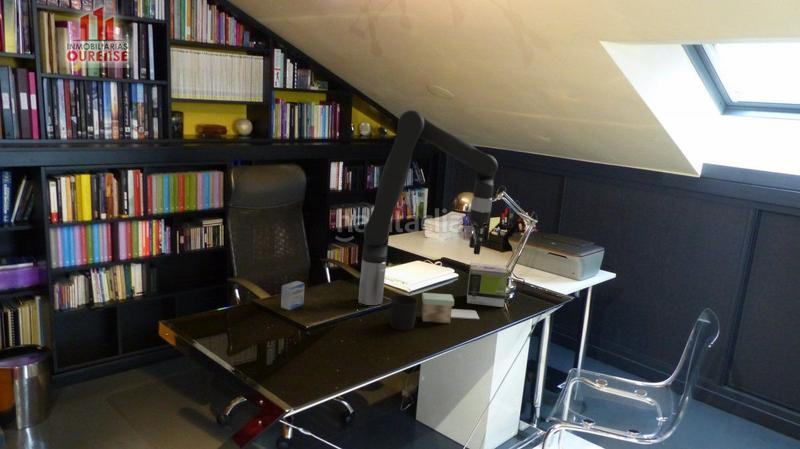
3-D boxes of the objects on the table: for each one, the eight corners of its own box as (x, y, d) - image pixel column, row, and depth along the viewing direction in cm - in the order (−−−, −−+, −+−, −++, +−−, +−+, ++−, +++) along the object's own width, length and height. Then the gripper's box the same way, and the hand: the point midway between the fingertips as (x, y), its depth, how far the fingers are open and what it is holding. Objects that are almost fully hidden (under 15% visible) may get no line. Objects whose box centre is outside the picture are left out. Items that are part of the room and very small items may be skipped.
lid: (423, 306, 218) (424, 298, 217) (421, 300, 224) (422, 292, 223) (453, 308, 219) (454, 300, 218) (450, 302, 225) (451, 294, 224)
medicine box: (289, 310, 218) (291, 288, 216) (280, 307, 220) (281, 285, 218) (303, 304, 225) (305, 282, 223) (294, 301, 227) (295, 280, 225)
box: (422, 321, 220) (424, 303, 218) (421, 316, 225) (423, 298, 223) (449, 323, 221) (452, 305, 219) (448, 317, 226) (450, 300, 224)
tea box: (502, 299, 251) (507, 265, 248) (503, 308, 242) (508, 273, 238) (466, 295, 252) (470, 261, 249) (466, 303, 243) (470, 268, 239)
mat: (447, 317, 226) (447, 316, 226) (445, 309, 234) (445, 308, 234) (479, 319, 227) (479, 318, 227) (475, 311, 235) (475, 310, 235)
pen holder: (419, 325, 216) (422, 299, 214) (408, 333, 208) (411, 306, 206) (395, 318, 220) (398, 293, 218) (384, 327, 212) (386, 300, 209)
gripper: (467, 203, 229) (461, 244, 233) (474, 212, 216) (467, 255, 219) (486, 205, 230) (479, 246, 234) (494, 214, 216) (488, 257, 220)
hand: (474, 250), depth 227 cm, fingers open, 8 cm apart
